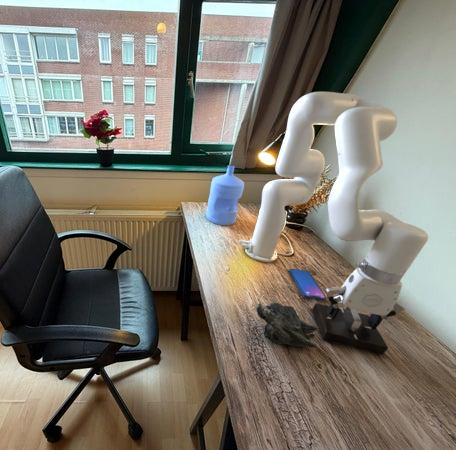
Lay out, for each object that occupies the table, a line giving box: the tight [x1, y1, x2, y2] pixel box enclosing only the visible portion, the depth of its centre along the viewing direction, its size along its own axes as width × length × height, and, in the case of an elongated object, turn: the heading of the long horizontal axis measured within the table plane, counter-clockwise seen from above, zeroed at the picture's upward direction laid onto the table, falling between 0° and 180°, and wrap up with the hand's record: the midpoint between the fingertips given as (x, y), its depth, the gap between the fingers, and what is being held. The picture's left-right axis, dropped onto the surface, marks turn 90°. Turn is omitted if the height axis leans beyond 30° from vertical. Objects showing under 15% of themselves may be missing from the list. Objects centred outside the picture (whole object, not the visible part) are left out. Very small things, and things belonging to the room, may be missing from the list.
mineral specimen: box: [255, 301, 319, 349], centre depth 66 cm, size 15×13×10 cm
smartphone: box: [288, 268, 327, 301], centre depth 86 cm, size 7×1×15 cm
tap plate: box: [311, 302, 389, 356], centre depth 69 cm, size 14×11×3 cm
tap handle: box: [343, 306, 362, 333], centre depth 67 cm, size 6×2×4 cm, turn 157°
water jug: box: [205, 164, 245, 226], centre depth 123 cm, size 16×16×28 cm
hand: (350, 320), depth 68 cm, fingers open, 9 cm apart
